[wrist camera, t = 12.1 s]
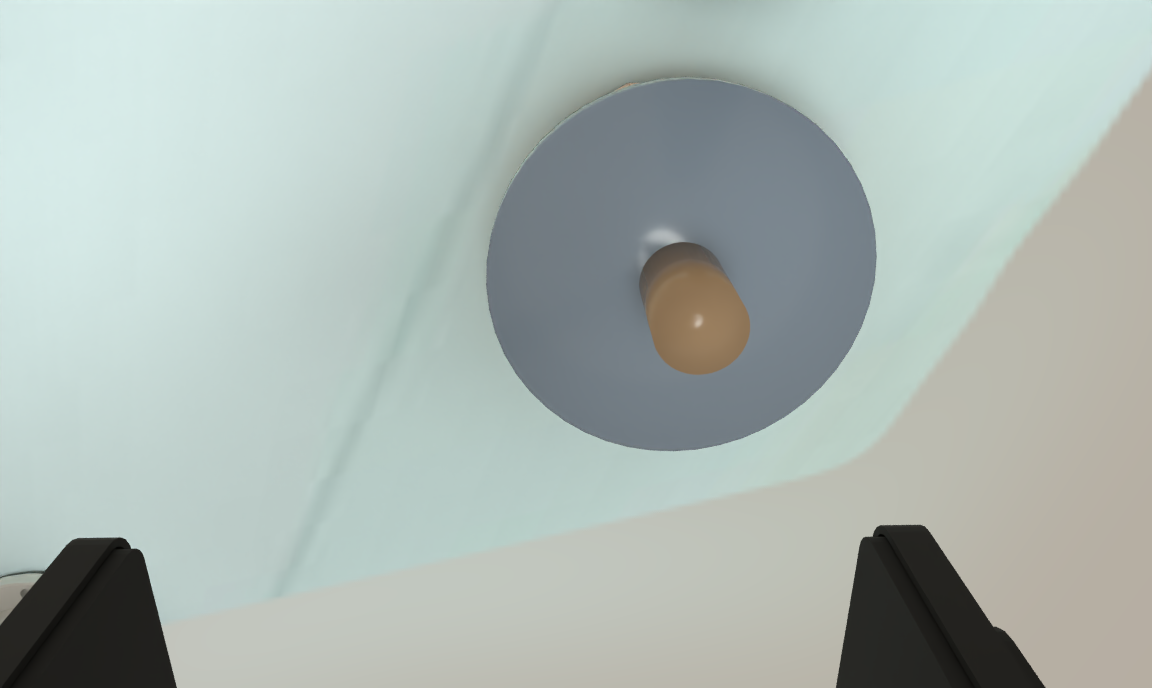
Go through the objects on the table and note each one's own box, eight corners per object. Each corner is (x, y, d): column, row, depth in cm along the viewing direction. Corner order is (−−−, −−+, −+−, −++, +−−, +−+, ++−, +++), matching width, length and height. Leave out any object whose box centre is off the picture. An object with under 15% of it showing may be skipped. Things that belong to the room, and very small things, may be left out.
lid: (842, 434, 40) (890, 512, 34) (496, 440, 39) (487, 521, 34) (892, 75, 33) (962, 97, 27) (478, 78, 33) (463, 102, 27)
